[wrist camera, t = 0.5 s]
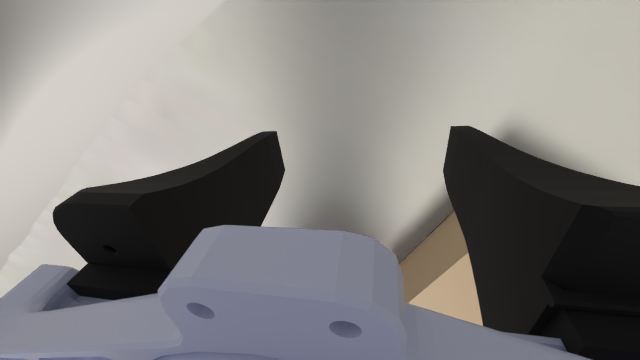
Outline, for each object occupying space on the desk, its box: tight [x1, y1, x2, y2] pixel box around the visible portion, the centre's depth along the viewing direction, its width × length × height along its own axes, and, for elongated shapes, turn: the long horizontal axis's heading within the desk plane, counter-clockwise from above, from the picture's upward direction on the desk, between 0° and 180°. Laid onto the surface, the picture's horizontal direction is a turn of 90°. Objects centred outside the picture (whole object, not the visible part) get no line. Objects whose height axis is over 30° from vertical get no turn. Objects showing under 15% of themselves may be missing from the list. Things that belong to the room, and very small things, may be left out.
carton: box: [399, 211, 483, 326], centre depth 24 cm, size 14×12×5 cm
